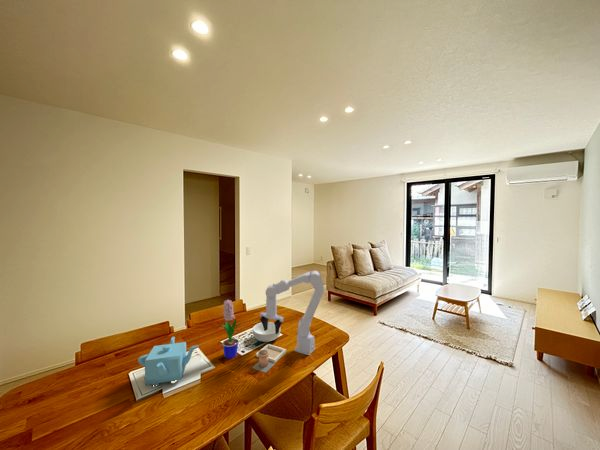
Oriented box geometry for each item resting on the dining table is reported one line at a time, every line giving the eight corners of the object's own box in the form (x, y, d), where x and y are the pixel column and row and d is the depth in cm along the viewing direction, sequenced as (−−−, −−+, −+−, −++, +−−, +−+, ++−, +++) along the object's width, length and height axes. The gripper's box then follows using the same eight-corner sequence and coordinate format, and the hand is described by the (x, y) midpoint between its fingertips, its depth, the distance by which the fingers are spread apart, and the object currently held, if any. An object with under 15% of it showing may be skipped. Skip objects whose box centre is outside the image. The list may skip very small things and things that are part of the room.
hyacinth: (237, 361, 119) (236, 303, 118) (218, 359, 121) (218, 301, 120) (244, 352, 128) (244, 297, 127) (227, 350, 130) (226, 296, 129)
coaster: (275, 364, 117) (275, 363, 117) (265, 373, 110) (265, 372, 110) (262, 359, 121) (262, 358, 121) (252, 368, 114) (252, 367, 114)
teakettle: (134, 383, 104) (134, 350, 103) (175, 360, 120) (174, 332, 120) (159, 399, 94) (159, 363, 94) (199, 372, 111) (199, 341, 110)
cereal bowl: (278, 346, 133) (278, 334, 133) (249, 346, 134) (249, 334, 133) (281, 332, 150) (281, 321, 150) (255, 331, 151) (255, 321, 150)
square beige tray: (286, 352, 127) (286, 349, 127) (274, 363, 118) (274, 360, 118) (268, 346, 133) (268, 343, 133) (255, 357, 123) (255, 353, 123)
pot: (270, 361, 118) (270, 349, 118) (267, 368, 113) (267, 355, 113) (260, 360, 119) (260, 348, 119) (256, 367, 114) (256, 354, 114)
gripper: (286, 307, 130) (286, 331, 131) (265, 302, 137) (265, 325, 137) (279, 311, 124) (279, 337, 124) (257, 307, 131) (257, 331, 131)
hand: (271, 331), depth 130 cm, fingers open, 7 cm apart
